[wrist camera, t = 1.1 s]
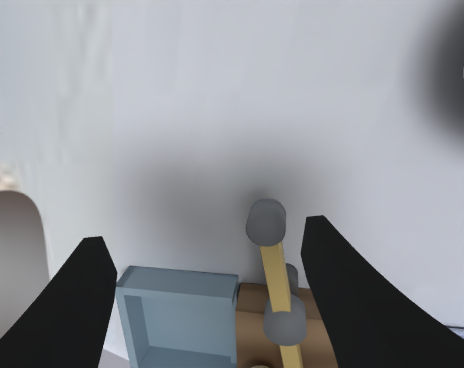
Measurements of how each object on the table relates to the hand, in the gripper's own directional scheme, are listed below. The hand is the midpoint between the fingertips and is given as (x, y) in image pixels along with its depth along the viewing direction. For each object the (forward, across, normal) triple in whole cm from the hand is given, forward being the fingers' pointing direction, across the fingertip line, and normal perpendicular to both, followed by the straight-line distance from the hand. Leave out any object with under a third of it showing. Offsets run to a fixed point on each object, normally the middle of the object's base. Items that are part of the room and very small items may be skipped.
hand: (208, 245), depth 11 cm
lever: (+5, -5, +13) cm, 15 cm away
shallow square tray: (+9, +3, +21) cm, 23 cm away
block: (+7, -6, +20) cm, 22 cm away
